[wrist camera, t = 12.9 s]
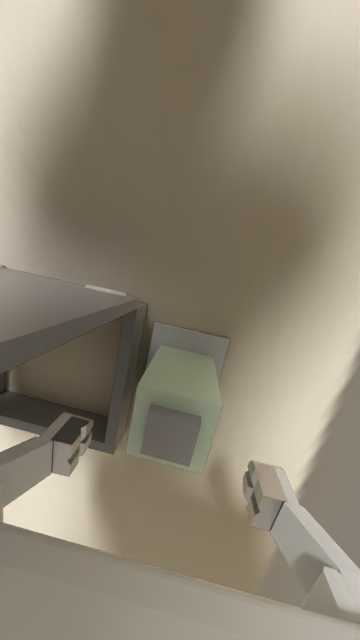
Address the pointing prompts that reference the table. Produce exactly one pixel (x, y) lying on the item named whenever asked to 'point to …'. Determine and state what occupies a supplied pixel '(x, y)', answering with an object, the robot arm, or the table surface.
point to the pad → (188, 343)
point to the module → (176, 410)
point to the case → (56, 329)
